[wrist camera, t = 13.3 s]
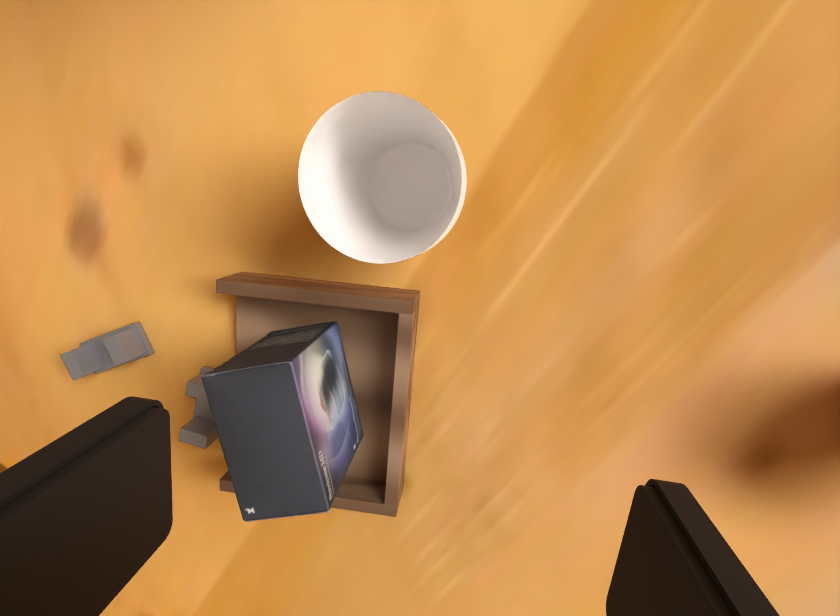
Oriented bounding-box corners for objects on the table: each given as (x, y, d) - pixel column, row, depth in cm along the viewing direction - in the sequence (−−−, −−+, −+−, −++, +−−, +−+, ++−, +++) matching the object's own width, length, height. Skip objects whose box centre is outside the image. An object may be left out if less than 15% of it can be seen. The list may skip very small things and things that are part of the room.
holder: (241, 271, 39) (216, 280, 35) (420, 290, 38) (413, 301, 34) (242, 464, 43) (219, 490, 39) (402, 487, 42) (395, 516, 38)
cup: (381, 263, 38) (339, 292, 26) (332, 156, 36) (265, 135, 25) (486, 217, 36) (492, 226, 24) (440, 103, 34) (422, 53, 23)
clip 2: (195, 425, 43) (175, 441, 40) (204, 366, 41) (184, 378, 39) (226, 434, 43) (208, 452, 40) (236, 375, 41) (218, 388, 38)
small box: (369, 436, 40) (333, 517, 30) (298, 445, 41) (240, 526, 31) (341, 318, 38) (292, 361, 28) (267, 330, 39) (193, 377, 29)
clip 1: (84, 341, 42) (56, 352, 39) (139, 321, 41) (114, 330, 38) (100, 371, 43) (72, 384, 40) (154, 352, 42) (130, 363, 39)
